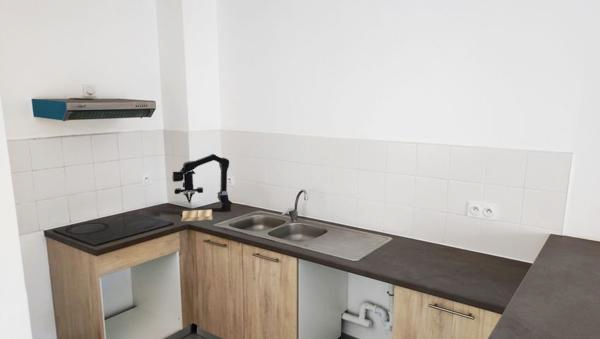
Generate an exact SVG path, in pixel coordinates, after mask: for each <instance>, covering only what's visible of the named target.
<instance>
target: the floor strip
mask: <svg viewBox="0 0 600 339" xmlns="http://www.w3.org/2000/svg"><path fill="white" fill-rule="evenodd" d="M209 220H210V221H212V220H213V215H212V216H207V217H198V216H197V217H189V218H182V217H181V221H180V222H193V221H194V222H195V221H209Z"/></svg>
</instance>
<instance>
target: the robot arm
mask: <svg viewBox="0 0 600 339" xmlns="http://www.w3.org/2000/svg"><path fill="white" fill-rule="evenodd" d="M212 161H215V162H217V163H219V164H218V167H219V169H220V191H218V192H217V199H218V201H219V202H220V204H221V205H220V211H221V212H222V213H229V212H232V201H231V200H229V194H228V191H227V188H228V170H229V167H230V160H229V159H228V158H226V157H220V156H217V155H216V154H214V153H211V154H209V155H207V156H204V157H201V158H198V159H196V160H190V161H185V162H184V163H183V165H182V168H181V169H180V171H172V176H171V177H172V182H173V183H178V182H182V181H184V182H182V187H183V188H184V189H182V188H179V187H178V188H174V194H175V195H179V194H181V193H183V195H184V196H185V197H186V199H187V202H188V203H189V204H191V201H192V197H193V195H195V193H196V192H197V193H198V194H201V193H202V194H203V193H204V187H202V186H201V187H196V188H194V175H195V174H197V173H196V172H195V171H194V170H195V169H197V167H199V166H202V165H204V164H207V163H210V162H212Z"/></svg>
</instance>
